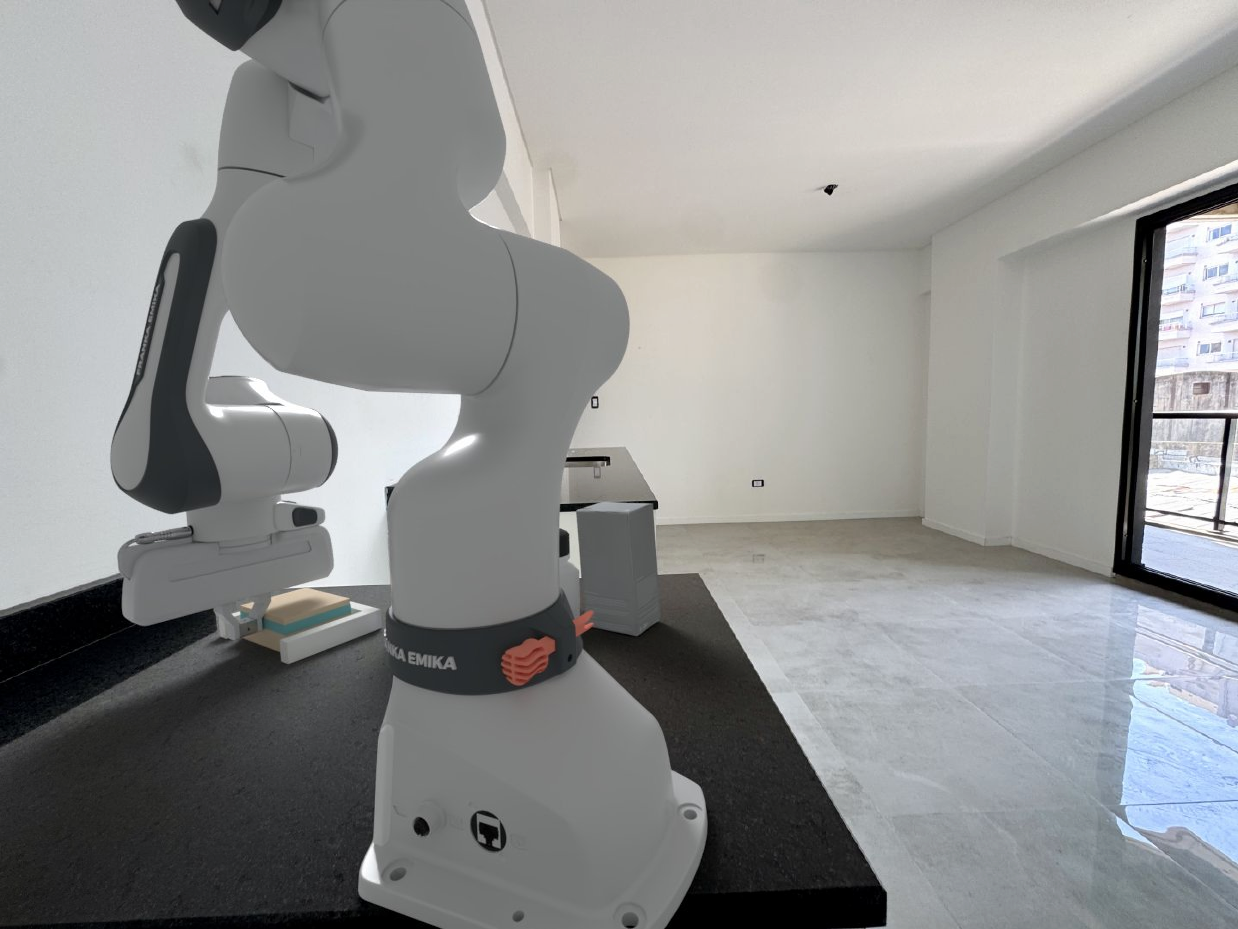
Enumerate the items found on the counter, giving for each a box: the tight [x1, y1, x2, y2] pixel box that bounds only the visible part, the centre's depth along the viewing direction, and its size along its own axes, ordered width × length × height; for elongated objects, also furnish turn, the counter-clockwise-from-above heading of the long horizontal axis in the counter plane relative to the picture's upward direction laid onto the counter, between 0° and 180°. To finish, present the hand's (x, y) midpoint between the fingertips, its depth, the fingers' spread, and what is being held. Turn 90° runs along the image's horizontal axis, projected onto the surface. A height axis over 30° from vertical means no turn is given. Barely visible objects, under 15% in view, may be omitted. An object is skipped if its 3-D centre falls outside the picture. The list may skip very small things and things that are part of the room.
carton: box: [239, 587, 351, 653], centre depth 65 cm, size 10×8×4 cm
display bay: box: [218, 600, 382, 665], centre depth 66 cm, size 16×12×2 cm
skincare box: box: [575, 501, 662, 637], centre depth 66 cm, size 8×7×16 cm
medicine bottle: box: [559, 527, 581, 619], centre depth 69 cm, size 7×7×12 cm
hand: (245, 635), depth 60 cm, fingers closed
